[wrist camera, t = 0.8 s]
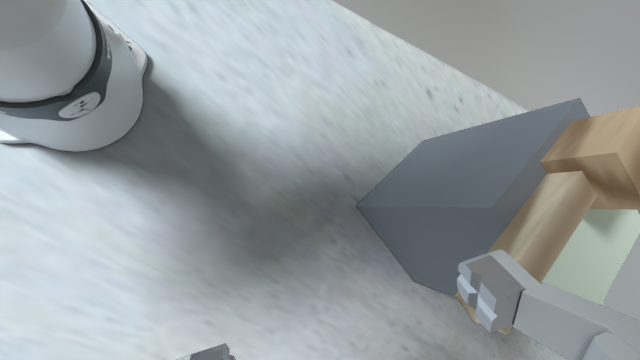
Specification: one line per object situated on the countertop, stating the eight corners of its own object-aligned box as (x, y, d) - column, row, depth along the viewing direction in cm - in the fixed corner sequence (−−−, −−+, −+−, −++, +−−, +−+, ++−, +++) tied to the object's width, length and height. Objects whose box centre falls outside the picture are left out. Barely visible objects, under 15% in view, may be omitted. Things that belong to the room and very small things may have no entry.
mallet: (445, 282, 25) (516, 304, 20) (571, 121, 33) (648, 104, 27) (483, 333, 26) (560, 368, 21) (597, 166, 34) (675, 158, 28)
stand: (355, 205, 51) (493, 207, 28) (422, 140, 57) (581, 97, 34) (413, 281, 54) (580, 340, 31) (471, 212, 60) (647, 217, 37)
